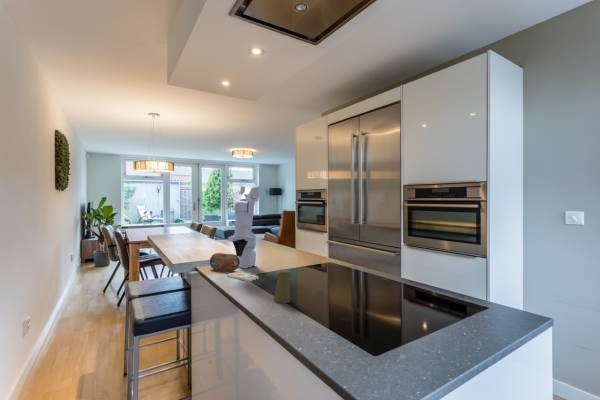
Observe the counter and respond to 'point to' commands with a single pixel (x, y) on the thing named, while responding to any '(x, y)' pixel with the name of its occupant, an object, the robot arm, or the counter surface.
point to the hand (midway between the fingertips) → (239, 256)
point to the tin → (224, 262)
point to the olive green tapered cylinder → (283, 287)
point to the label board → (243, 276)
